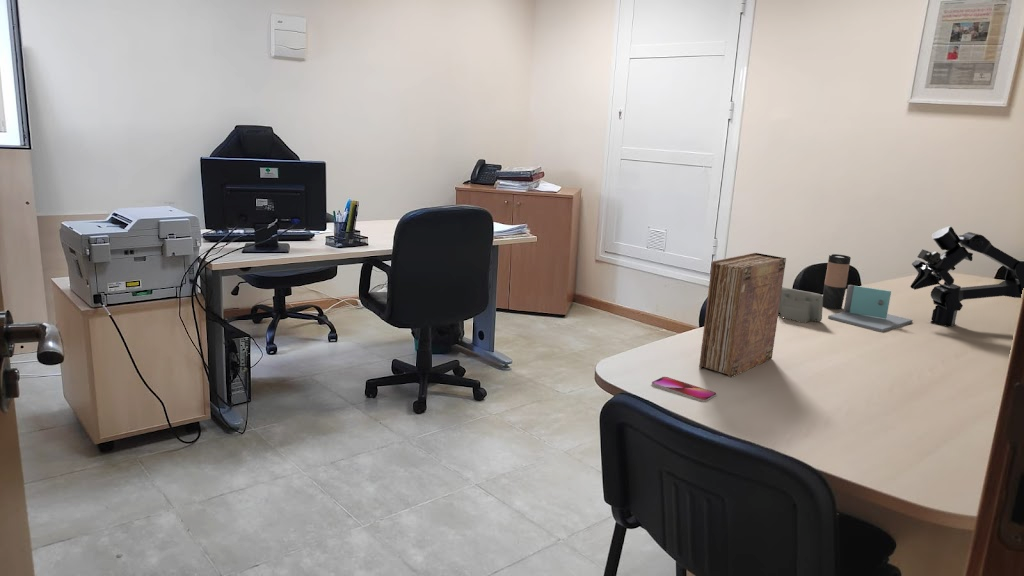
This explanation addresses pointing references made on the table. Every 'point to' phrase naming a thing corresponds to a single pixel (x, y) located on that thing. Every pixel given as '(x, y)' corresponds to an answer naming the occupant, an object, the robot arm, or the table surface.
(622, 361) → the table surface
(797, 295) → the digital clock
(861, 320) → the base board
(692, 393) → the smartphone
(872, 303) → the door
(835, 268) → the travel mug
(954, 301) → the robot arm
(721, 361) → the book
